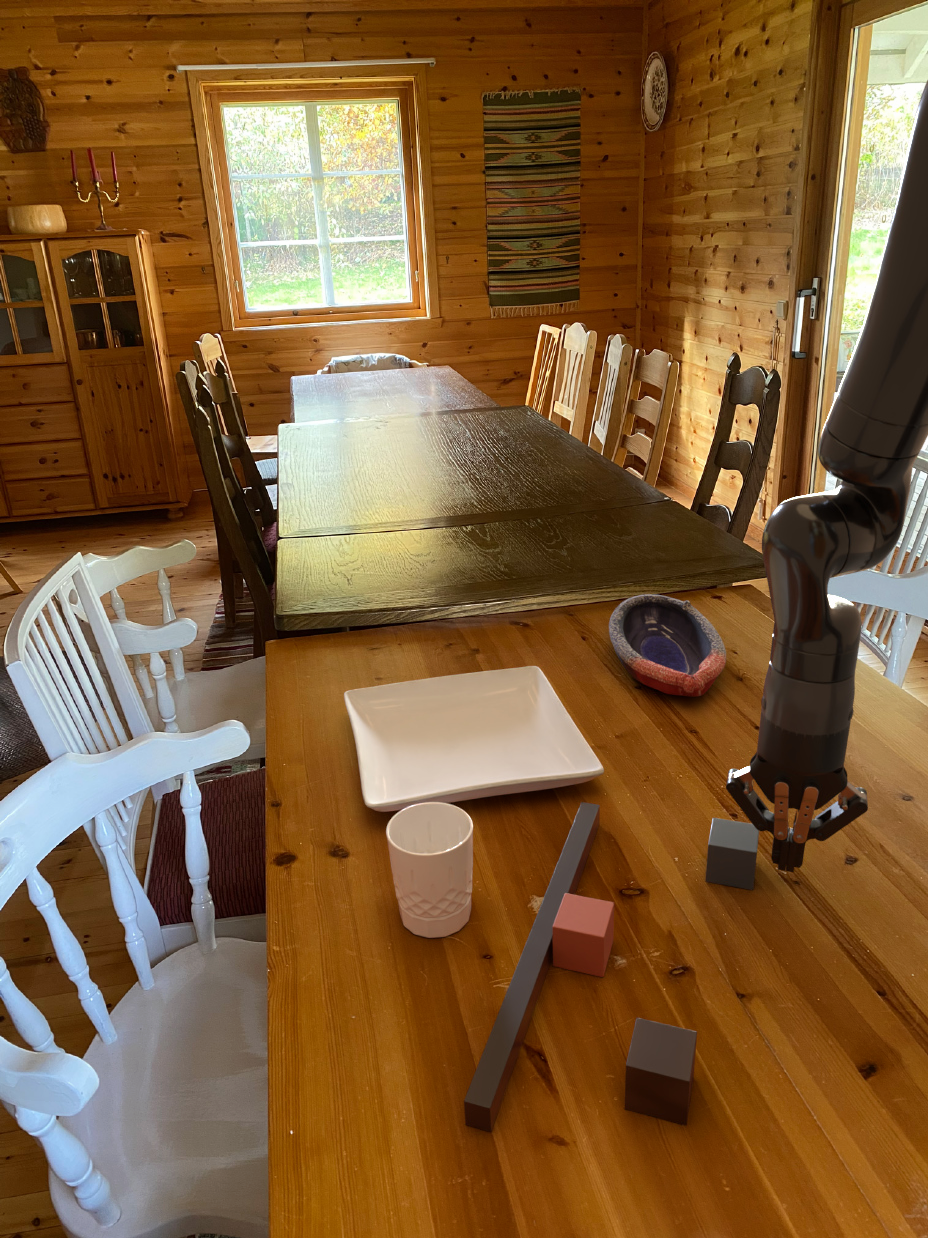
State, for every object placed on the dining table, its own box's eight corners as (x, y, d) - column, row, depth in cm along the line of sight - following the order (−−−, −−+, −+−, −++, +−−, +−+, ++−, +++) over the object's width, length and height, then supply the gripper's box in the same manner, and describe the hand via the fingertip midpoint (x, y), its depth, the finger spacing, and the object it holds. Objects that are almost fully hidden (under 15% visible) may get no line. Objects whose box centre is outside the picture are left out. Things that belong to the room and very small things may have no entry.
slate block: (755, 861, 92) (759, 824, 90) (753, 890, 88) (757, 852, 86) (709, 853, 93) (712, 817, 92) (705, 882, 89) (708, 844, 88)
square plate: (368, 834, 99) (364, 805, 97) (345, 713, 123) (342, 687, 122) (606, 795, 103) (607, 766, 102) (538, 685, 128) (538, 660, 126)
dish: (695, 616, 147) (697, 587, 145) (744, 711, 119) (748, 677, 117) (598, 619, 148) (599, 590, 146) (625, 714, 120) (626, 680, 118)
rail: (599, 824, 99) (599, 804, 98) (491, 1132, 66) (490, 1108, 65) (581, 821, 99) (581, 801, 98) (465, 1125, 67) (463, 1101, 66)
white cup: (428, 875, 92) (421, 792, 88) (493, 904, 88) (489, 818, 84) (377, 922, 86) (368, 836, 82) (444, 956, 82) (438, 866, 78)
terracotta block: (613, 941, 83) (614, 902, 81) (603, 978, 79) (604, 937, 77) (564, 931, 84) (564, 892, 82) (552, 966, 80) (552, 926, 79)
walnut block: (693, 1074, 70) (697, 1031, 68) (686, 1126, 66) (689, 1081, 64) (634, 1060, 71) (636, 1017, 69) (624, 1109, 67) (625, 1065, 66)
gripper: (884, 700, 82) (858, 855, 90) (732, 681, 87) (718, 830, 94) (889, 742, 76) (860, 906, 83) (725, 720, 80) (711, 877, 87)
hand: (785, 865), depth 88 cm, fingers closed
